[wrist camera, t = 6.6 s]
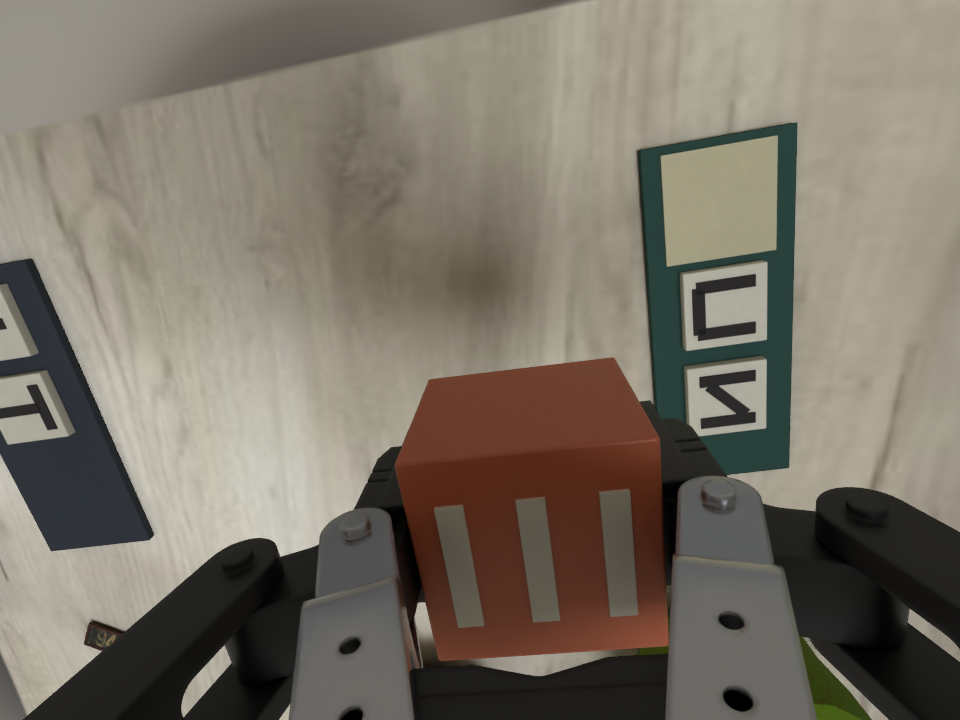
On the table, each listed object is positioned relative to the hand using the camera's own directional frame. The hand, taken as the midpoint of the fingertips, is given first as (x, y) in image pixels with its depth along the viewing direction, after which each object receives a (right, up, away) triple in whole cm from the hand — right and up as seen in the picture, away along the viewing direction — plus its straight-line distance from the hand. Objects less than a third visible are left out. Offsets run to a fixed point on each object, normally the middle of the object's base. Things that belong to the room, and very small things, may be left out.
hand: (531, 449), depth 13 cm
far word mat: (-27, -1, +19) cm, 33 cm away
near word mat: (+11, +4, +15) cm, 19 cm away
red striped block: (0, 0, 0) cm, 0 cm away
